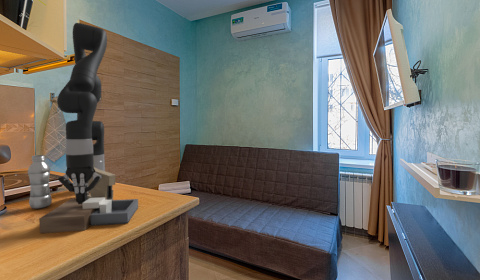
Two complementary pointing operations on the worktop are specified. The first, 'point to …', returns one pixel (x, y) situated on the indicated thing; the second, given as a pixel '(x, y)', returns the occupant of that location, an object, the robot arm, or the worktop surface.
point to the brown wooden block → (67, 218)
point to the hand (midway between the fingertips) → (81, 203)
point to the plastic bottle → (39, 183)
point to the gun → (102, 185)
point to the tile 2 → (106, 206)
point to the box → (115, 213)
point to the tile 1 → (93, 203)
